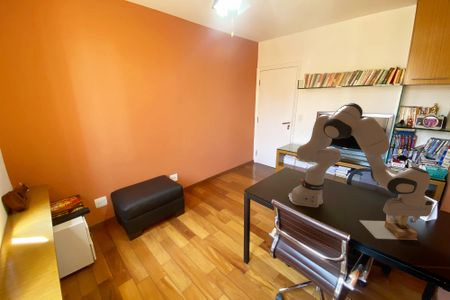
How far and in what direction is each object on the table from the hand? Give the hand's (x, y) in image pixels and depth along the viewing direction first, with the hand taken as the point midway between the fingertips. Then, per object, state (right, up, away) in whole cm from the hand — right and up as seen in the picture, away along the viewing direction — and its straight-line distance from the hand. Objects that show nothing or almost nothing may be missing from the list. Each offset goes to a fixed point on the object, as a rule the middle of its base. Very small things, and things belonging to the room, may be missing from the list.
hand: (402, 221), depth 98 cm
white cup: (+5, -4, +10) cm, 12 cm away
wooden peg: (0, -6, +2) cm, 7 cm away
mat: (-5, -6, +4) cm, 9 cm away
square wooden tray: (0, -6, +2) cm, 7 cm away
